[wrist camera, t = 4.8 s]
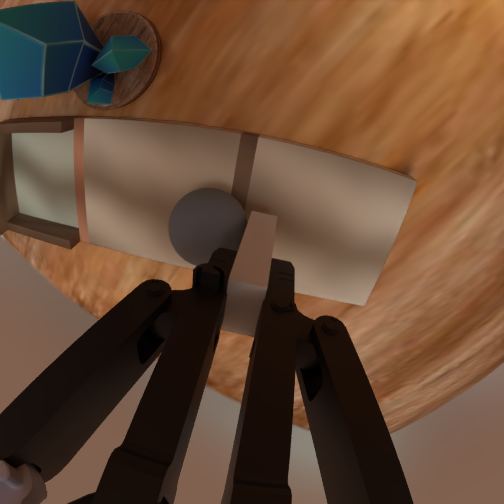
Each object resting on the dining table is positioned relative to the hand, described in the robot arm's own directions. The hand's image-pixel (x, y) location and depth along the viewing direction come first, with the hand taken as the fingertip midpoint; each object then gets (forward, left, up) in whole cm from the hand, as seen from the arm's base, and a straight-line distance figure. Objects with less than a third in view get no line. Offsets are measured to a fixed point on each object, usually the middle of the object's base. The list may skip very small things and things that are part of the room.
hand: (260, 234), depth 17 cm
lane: (0, -8, -3) cm, 8 cm away
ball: (0, -3, 0) cm, 3 cm away
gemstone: (-9, -12, -3) cm, 16 cm away
